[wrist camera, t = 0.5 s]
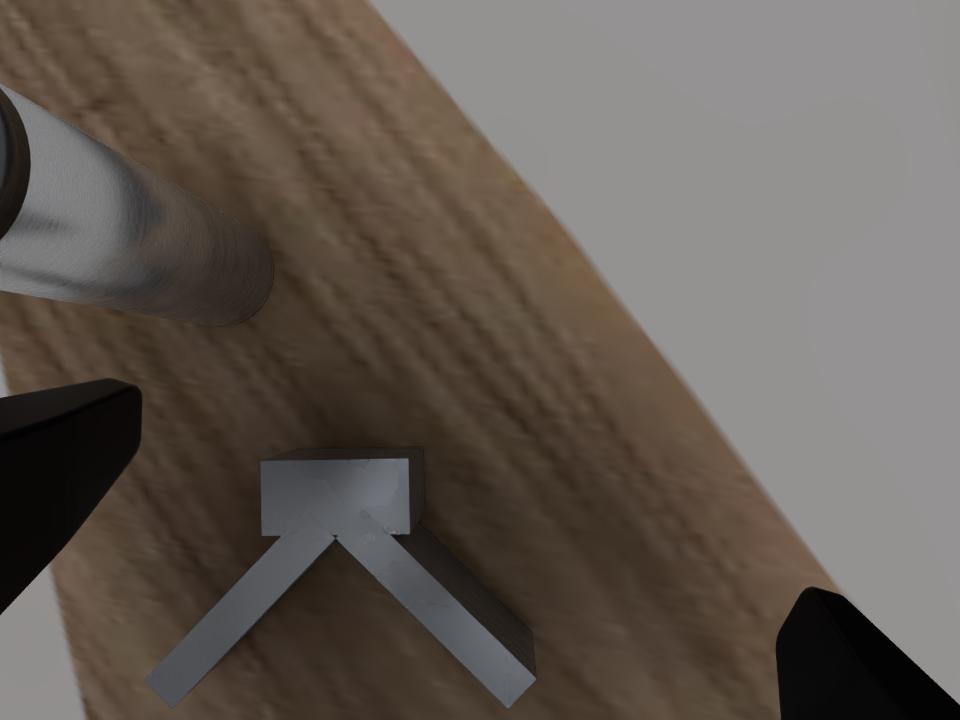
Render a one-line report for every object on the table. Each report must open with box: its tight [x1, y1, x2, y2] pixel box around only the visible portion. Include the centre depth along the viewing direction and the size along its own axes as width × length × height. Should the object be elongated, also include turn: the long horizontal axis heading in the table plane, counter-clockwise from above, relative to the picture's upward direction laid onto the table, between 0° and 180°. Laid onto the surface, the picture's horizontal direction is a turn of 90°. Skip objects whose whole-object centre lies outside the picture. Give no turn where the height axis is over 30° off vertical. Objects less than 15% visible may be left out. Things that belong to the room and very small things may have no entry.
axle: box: [0, 84, 274, 327], centre depth 18 cm, size 4×4×13 cm
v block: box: [144, 446, 537, 709], centre depth 22 cm, size 7×12×4 cm, turn 91°
